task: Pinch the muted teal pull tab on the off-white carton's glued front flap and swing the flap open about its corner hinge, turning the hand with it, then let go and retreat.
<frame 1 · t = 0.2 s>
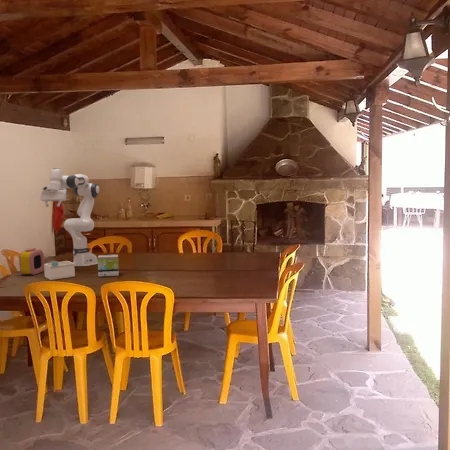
hand: (52, 206, 372), 52 cm above the table, tool tilted 20°, fingers open, 8 cm apart
carton: (59, 276, 369), on the table
tea box: (108, 275, 371), on the table
alarm clock: (32, 273, 383), on the table
lid flap: (62, 269, 362), point 7 cm above the table, hinge at 0.0°
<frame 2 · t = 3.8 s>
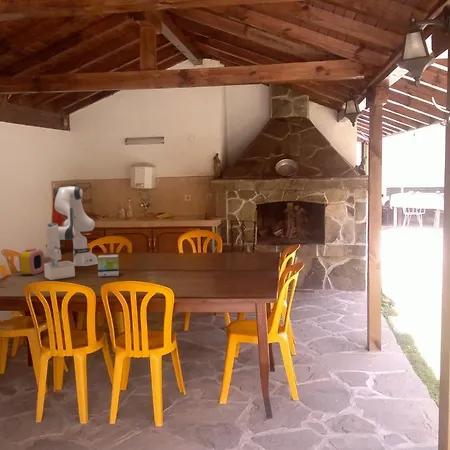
hand: (54, 264, 358), 11 cm above the table, tool pointing down, fingers closed on lid flap, 2 cm apart
lid flap: (62, 269, 362), point 7 cm above the table, hinge at 0.0°, touching gripper
everything else where it was.
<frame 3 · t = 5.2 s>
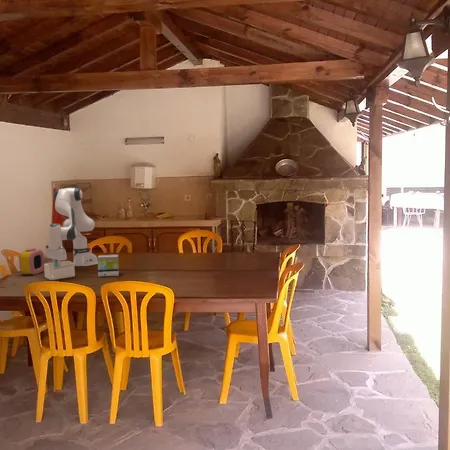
hand: (57, 265, 356), 11 cm above the table, tool pointing down, fingers closed on lid flap, 2 cm apart
lid flap: (63, 269, 360), point 7 cm above the table, hinge at 14.7°, touching gripper
everything else where it was.
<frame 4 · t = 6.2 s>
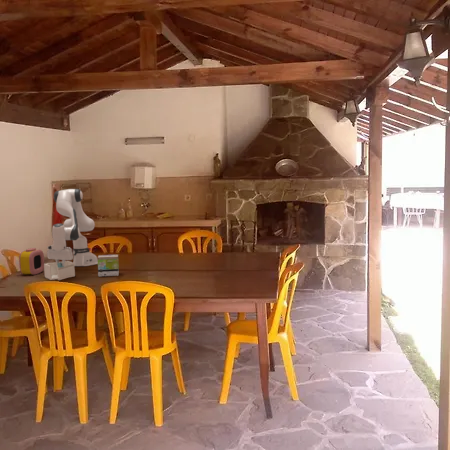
hand: (60, 265, 354), 11 cm above the table, tool pointing down, fingers closed on lid flap, 2 cm apart
lid flap: (66, 269, 359), point 7 cm above the table, hinge at 30.4°, touching gripper
everything else where it was.
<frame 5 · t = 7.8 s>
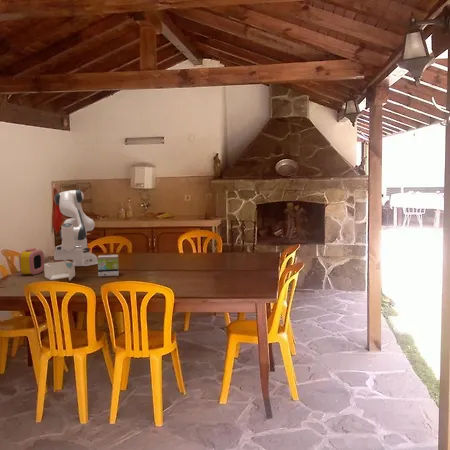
hand: (69, 265, 353), 11 cm above the table, tool pointing down, fingers closed on lid flap, 2 cm apart
lid flap: (71, 269, 359), point 7 cm above the table, hinge at 58.1°, touching gripper
everything else where it was.
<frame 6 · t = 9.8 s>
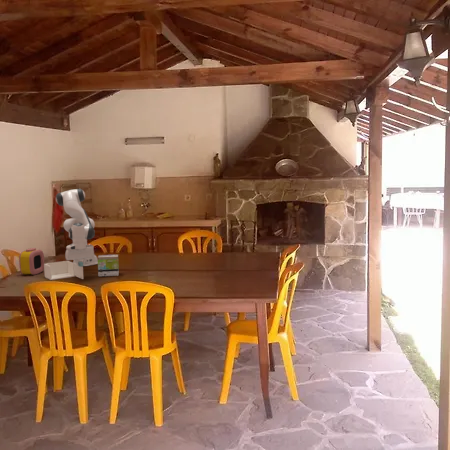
hand: (80, 264, 356), 11 cm above the table, tool pointing down, fingers closed on lid flap, 2 cm apart
lid flap: (78, 269, 360), point 7 cm above the table, hinge at 89.1°, touching gripper
everything else where it was.
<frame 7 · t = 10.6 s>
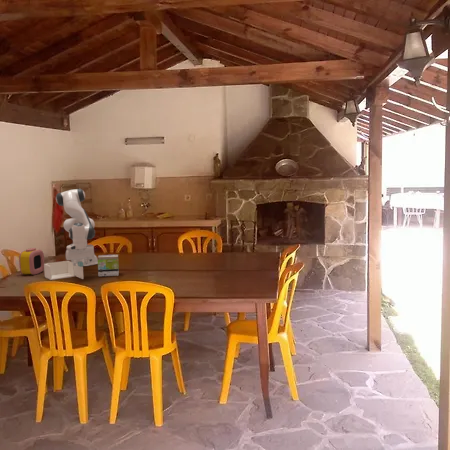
hand: (80, 264, 356), 11 cm above the table, tool pointing down, fingers open, 8 cm apart
lid flap: (78, 269, 360), point 7 cm above the table, hinge at 89.2°
everything else where it was.
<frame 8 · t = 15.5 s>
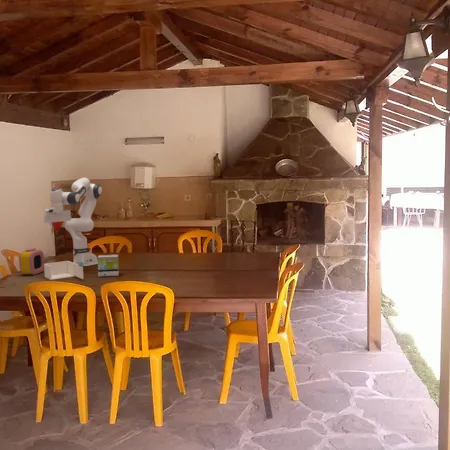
hand: (58, 227, 380), 35 cm above the table, tool pointing down, fingers open, 8 cm apart
nothing on the table moved.
at the end: lid flap at +89° (first picture: +0°); the gripper is holding nothing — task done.
